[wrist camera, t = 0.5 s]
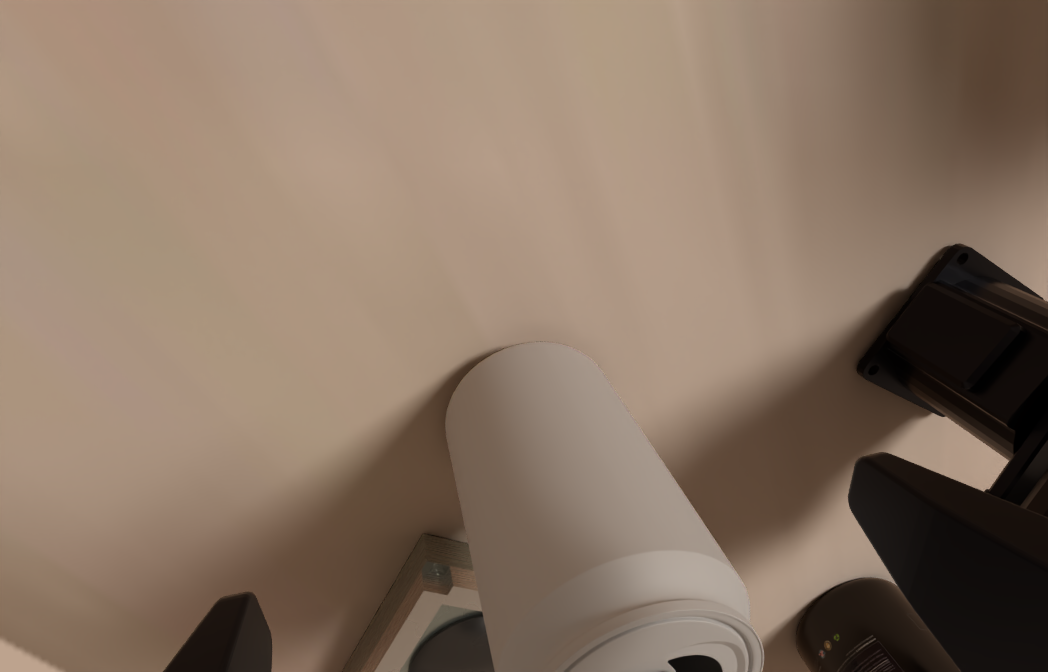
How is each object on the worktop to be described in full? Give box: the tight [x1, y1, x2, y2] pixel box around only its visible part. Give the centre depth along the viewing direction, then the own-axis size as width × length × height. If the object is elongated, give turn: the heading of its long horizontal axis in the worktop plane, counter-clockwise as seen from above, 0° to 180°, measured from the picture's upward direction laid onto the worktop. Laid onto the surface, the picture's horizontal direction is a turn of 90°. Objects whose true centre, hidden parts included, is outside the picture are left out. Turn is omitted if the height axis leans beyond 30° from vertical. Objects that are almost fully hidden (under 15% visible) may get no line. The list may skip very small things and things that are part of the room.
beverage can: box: [445, 341, 764, 672], centre depth 19 cm, size 6×6×12 cm
